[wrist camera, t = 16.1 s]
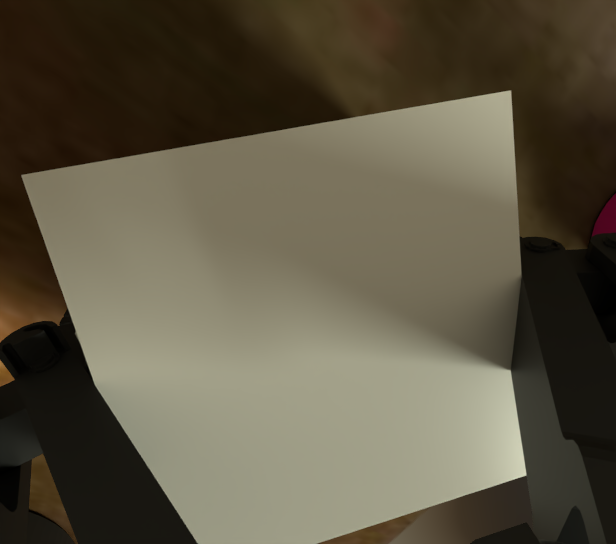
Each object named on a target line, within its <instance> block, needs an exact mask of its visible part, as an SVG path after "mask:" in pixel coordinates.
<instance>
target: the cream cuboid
mask: <svg viewBox="0 0 616 544" xmlns="http://www.w3.org/2000/svg"><path fill="white" fill-rule="evenodd" d="M21 177H22V179H23V182H24V185H25V188H26V191H27V194H28V196H29V199H30V202H31V205H32V208H33V211H34V214H35V216H36V219H37V222H38V225H39V228H40V231H41V233H42V236H43V239H44V242H45V245H46V248H47V250H48V253H49V256H50V259H51V262H52V265H53V267H54V270H55V273H56V276H57V279H58V282H59V285H60V287H61V290H62V293H63V296H64V299H65V302H66V304H67V307H68V310H69V313H70V316H71V319H72V321H73V324H74V327H75V330H76V333H77V336H78V338H79V341H80V344H81V347H82V350H83V353H84V356H85V358H86V361H87V364H88V367H89V370H90V373H91V375H92V378H93V381H94V384H95V386H96V387H97V389H98V391H99V392H100V394H101V395H102V397H103V398H104V400H105V401H106V403H107V404H108V406H109V408H110V409H111V411H112V412H113V414H114V415H115V417H116V418H117V420H118V421H119V423H120V424H121V426H122V428H123V429H124V431H125V432H126V434H127V435H128V437H129V438H130V440H131V441H132V443H133V445H134V446H135V448H136V449H137V451H138V452H139V454H140V455H141V457H142V458H143V460H144V461H145V463H146V465H147V466H148V468H149V469H150V471H151V472H152V474H153V475H154V477H155V478H156V480H157V482H158V483H159V485H160V486H161V488H162V489H163V491H164V492H165V494H166V495H167V497H168V498H169V500H170V502H171V503H172V505H173V506H174V508H175V509H176V511H177V512H178V514H179V515H180V517H181V519H182V520H183V522H184V523H185V525H186V526H187V528H188V529H189V531H190V532H191V534H192V535H193V537H194V539H195V540H196V542H197V543H198V544H317V543H320V542H323V541H326V540H329V539H332V538H335V537H338V536H341V535H345V534H348V533H351V532H354V531H357V530H360V529H363V528H366V527H369V526H372V525H375V524H378V523H381V522H384V521H388V520H391V519H394V518H397V517H400V516H403V515H406V514H409V513H412V512H415V511H418V510H421V509H424V508H427V507H431V506H434V505H436V504H440V503H443V502H445V501H449V500H452V499H455V498H458V497H461V496H464V495H467V494H470V493H473V492H477V491H480V490H483V489H486V488H489V487H491V486H495V485H498V484H501V483H504V482H507V481H510V480H513V479H516V478H519V477H522V476H525V475H526V468H525V462H524V455H523V448H522V442H521V435H520V429H519V422H518V416H517V409H516V403H515V396H514V389H513V383H512V376H511V363H512V355H513V346H514V338H515V329H516V320H517V312H518V303H519V295H520V286H521V278H522V273H521V256H520V238H519V221H518V203H517V186H516V168H515V151H514V133H513V116H512V98H511V90H510V91H504V92H499V93H493V94H487V95H481V96H475V97H470V98H464V99H458V100H452V101H447V102H441V103H435V104H429V105H423V106H418V107H412V108H406V109H400V110H395V111H389V112H383V113H377V114H371V115H366V116H360V117H354V118H348V119H342V120H337V121H331V122H325V123H319V124H314V125H308V126H302V127H296V128H290V129H285V130H279V131H273V132H267V133H262V134H256V135H250V136H244V137H238V138H233V139H227V140H221V141H215V142H210V143H204V144H198V145H192V146H186V147H181V148H175V149H169V150H163V151H158V152H152V153H146V154H140V155H134V156H129V157H123V158H117V159H111V160H106V161H100V162H94V163H88V164H82V165H77V166H71V167H65V168H59V169H54V170H48V171H42V172H36V173H30V174H25V175H21Z"/></svg>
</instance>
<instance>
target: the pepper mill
mask: <svg viewBox="0 0 616 544" xmlns="http://www.w3.org/2000/svg"><path fill="white" fill-rule="evenodd" d="M613 232H614V233H616V193H615V194H614V195H613V196H612V198H611V199H610V200H609V201H608V202H607V204H606V205H605V207H604V208H603V210H602V211H601V213H600V215H599V217H598V219H597V221H596V223H595V225H594V229H593V233H592V236H594V235H596V234H601V233H613ZM592 236H591V237H592Z"/></svg>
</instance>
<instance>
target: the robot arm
mask: <svg viewBox="0 0 616 544" xmlns="http://www.w3.org/2000/svg"><path fill="white" fill-rule="evenodd" d="M519 238H520V256H521V273H522V278H521V286H520V295H519V303H518V312H517V320H516V329H515V338H514V346H513V355H512V363H511V376H512V383H513V389H514V396H515V403H516V409H517V416H518V422H519V429H520V435H521V442H522V448H523V455H524V462H525V468H526V475H527V481H528V488H529V494H530V500H531V508H532V515H533V531H532V530H531V528H530V527H529V525H528V524H527V523H523V524H521V525H517V526H514V527H511V528H509V529H506V530H503V531H500V532H497V533H494V534H491V535H488V536H485V537H482V538H479V539H476V540H474V541H473V542H472V543H470V544H616V233H614V232H613V233H601V234H596V235H594V236H592V237H591V240H590V243H589V246H588V249H579V250H565V248H564V247H563V246H562V244H560V243H558V242H556V241H554V240H551V239H548V238H542V237H526V238H522V237H520V236H519ZM59 325H60V326H58V325H57V324H55V323H54V322H52V321H42V322H36V323H32V324H30V325H27V326H24V327H22V328H20V329H18V330H16V331H15V332H13V333H11V334H10V335H9V336H7V337H6V338H5V339H3V340H2V341H1V343H0V360H1V361H2V362H3V364H4V365H5V367H6V368H7V369H8V371H9V372H10V373H11V375H12V376H13V377H14V379H15V380H14V381H12V382H10V383H8V384H6V385H3V386H1V387H0V544H75V543H74V542H73V540H72V539H71V537H70V536H69V535H68V534H67V533H66V532H65V531H64V530H63V529H61V528H60V527H59V526H57V525H56V524H54V523H53V522H51V521H49V520H47V519H45V518H43V517H41V516H39V515H36V514H33V513H31V512H28V511H29V495H30V479H31V463H32V459H33V458H35V457H37V456H39V455H41V454H44V456H45V459H46V462H47V464H48V467H49V469H50V472H51V474H52V477H53V480H54V482H55V485H56V487H57V490H58V493H59V495H60V498H61V500H62V503H63V505H64V508H65V511H66V513H67V516H68V518H69V521H70V524H71V526H72V529H73V531H74V534H75V537H76V539H77V542H78V544H198V543H197V542H196V540H195V539H194V537H193V535H192V534H191V532H190V531H189V529H188V528H187V526H186V525H185V523H184V522H183V520H182V519H181V517H180V515H179V514H178V512H177V511H176V509H175V508H174V506H173V505H172V503H171V502H170V500H169V498H168V497H167V495H166V494H165V492H164V491H163V489H162V488H161V486H160V485H159V483H158V482H157V480H156V478H155V477H154V475H153V474H152V472H151V471H150V469H149V468H148V466H147V465H146V463H145V461H144V460H143V458H142V457H141V455H140V454H139V452H138V451H137V449H136V448H135V446H134V445H133V443H132V441H131V440H130V438H129V437H128V435H127V434H126V432H125V431H124V429H123V428H122V426H121V424H120V423H119V421H118V420H117V418H116V417H115V415H114V414H113V412H112V411H111V409H110V408H109V406H108V404H107V403H106V401H105V400H104V398H103V397H102V395H101V394H100V392H99V391H98V389H97V387H96V386H95V384H94V381H93V378H92V375H91V373H90V370H89V367H88V364H87V361H86V358H85V356H84V353H83V350H82V347H81V344H80V341H79V338H78V336H77V333H76V330H75V327H74V324H73V321H72V319H71V316H70V313H69V310H68V308H67V310H66V312H65V314H64V318H62V320H61V322H60V324H59Z"/></svg>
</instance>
